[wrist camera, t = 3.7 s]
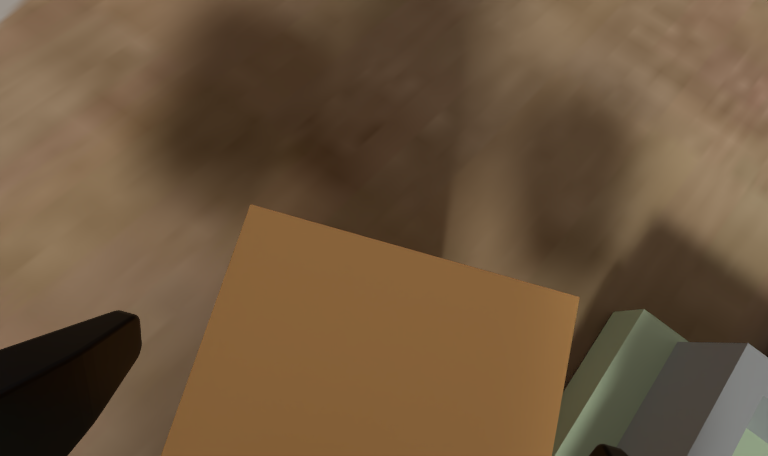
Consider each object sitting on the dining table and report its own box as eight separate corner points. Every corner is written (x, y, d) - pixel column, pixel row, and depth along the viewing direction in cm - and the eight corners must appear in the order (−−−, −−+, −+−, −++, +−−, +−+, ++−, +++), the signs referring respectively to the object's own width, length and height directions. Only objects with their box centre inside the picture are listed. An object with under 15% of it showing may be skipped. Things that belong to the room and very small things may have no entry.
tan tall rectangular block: (402, 446, 17) (509, 694, 5) (280, 412, 17) (115, 583, 5) (433, 322, 18) (579, 297, 6) (318, 289, 18) (250, 204, 6)
